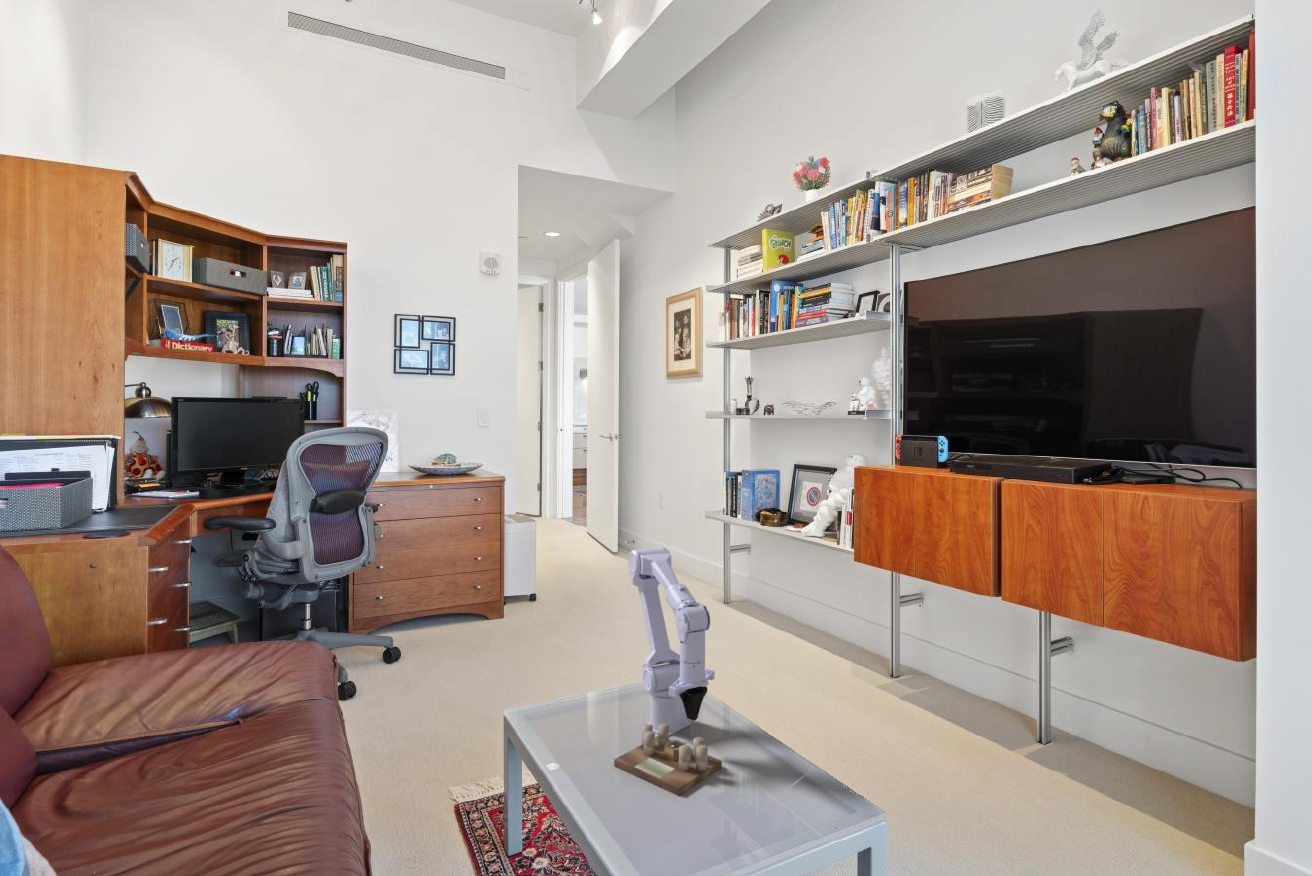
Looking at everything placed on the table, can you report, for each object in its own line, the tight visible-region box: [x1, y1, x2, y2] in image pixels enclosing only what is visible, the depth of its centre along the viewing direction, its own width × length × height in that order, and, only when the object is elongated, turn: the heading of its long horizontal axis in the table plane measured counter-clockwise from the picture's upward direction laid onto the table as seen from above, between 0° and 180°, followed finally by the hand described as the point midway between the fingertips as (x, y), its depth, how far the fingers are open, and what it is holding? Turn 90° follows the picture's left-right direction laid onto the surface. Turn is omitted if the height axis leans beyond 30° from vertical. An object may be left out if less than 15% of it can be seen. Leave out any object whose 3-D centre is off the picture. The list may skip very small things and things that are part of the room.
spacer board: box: [613, 723, 723, 796], centre depth 152 cm, size 15×18×6 cm
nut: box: [664, 739, 687, 761], centre depth 154 cm, size 4×5×2 cm
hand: (692, 718), depth 158 cm, fingers closed
